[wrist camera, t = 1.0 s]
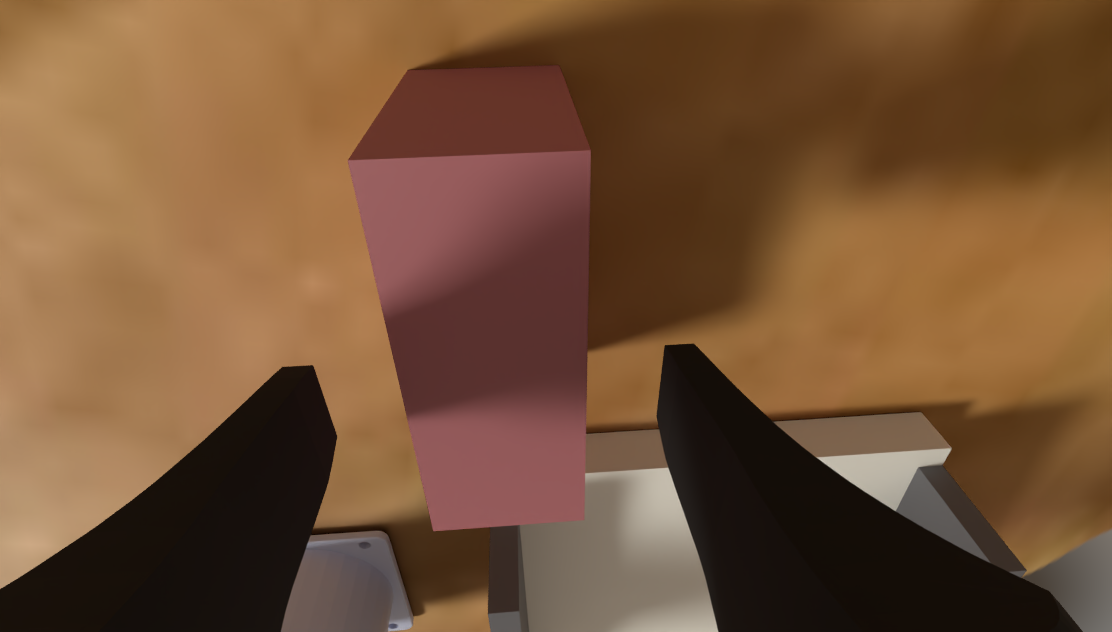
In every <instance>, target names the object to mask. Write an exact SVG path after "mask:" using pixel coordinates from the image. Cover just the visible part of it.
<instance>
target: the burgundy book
mask: <svg viewBox="0 0 1112 632" xmlns="http://www.w3.org/2000/svg"><path fill="white" fill-rule="evenodd" d="M348 164H349V168H350V173H351V177H352V181H353V185H354V190H355V194H356V198H357V203H358V207H359V211H360V216H361V220H362V224H363V229H364V233H365V237H366V242H367V246H368V250H369V255H370V259H371V263H372V268H373V272H374V276H375V281H376V285H377V289H378V294H379V298H380V302H381V307H382V311H383V315H384V320H385V324H386V328H387V333H388V337H389V341H390V346H391V350H392V354H393V359H394V363H395V367H396V372H397V376H398V380H399V385H400V389H401V393H402V398H403V402H404V406H405V411H406V415H407V419H408V424H409V428H410V432H411V437H412V441H413V445H414V450H415V454H416V458H417V463H418V467H419V471H420V476H421V480H422V484H423V489H424V493H425V497H426V502H427V506H428V510H429V515H430V519H431V523H432V528H433V531H444V530H457V529H471V528H485V527H498V526H512V525H526V524H539V523H553V522H567V521H580V520H584V511H585V455H586V399H587V343H588V287H589V231H590V175H591V149H590V147H589V144H588V141H587V139H586V136H585V133H584V130H583V128H582V125H581V122H580V120H579V117H578V114H577V112H576V109H575V106H574V103H573V101H572V98H571V95H570V93H569V90H568V87H567V85H566V82H565V79H564V77H563V74H562V71H561V68H560V66H559V65H547V66H517V67H487V68H457V69H428V70H407V72H406V73H405V75H404V76H403V78H402V79H401V81H400V82H399V84H398V86H397V87H396V89H395V90H394V92H393V93H392V95H391V96H390V98H389V99H388V101H387V102H386V104H385V105H384V107H383V108H382V110H381V111H380V113H379V114H378V116H377V117H376V119H375V120H374V122H373V123H372V125H371V126H370V128H369V129H368V131H367V132H366V134H365V135H364V137H363V138H362V140H361V141H360V143H359V144H358V146H357V147H356V149H355V150H354V152H353V153H352V155H351V156H350V158H349V159H348Z"/></svg>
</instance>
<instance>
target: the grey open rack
mask: <svg viewBox="0 0 1112 632" xmlns="http://www.w3.org/2000/svg"><path fill="white" fill-rule="evenodd" d="M774 423H775V424H776V425H777V426H778V427H780V428H781V429H782V430H783V431H784V432H786V433H787V434H788V435H789V436H790V437H791V438H793V439H794V440H795V441H796V442H797V443H799V444H800V445H801V446H802V447H804V448H805V449H806V450H807V451H809V452H810V453H811V454H813V455H814V456H815V457H816V458H818V459H819V460H821V461H822V462H823V463H825V464H826V465H827V466H829V467H830V468H832V469H833V470H834V471H836V472H837V473H838V474H840V475H841V476H842V477H844V478H845V479H847V480H848V481H850V482H851V483H853V484H854V485H856V486H857V487H859V488H860V489H862V490H863V491H865V492H866V493H868V494H869V495H871V496H872V497H874V498H876V499H877V500H879V501H880V502H882V503H883V504H885V505H887V506H888V507H890V508H891V509H893V510H895V511H896V512H898V513H899V514H901V515H903V516H904V517H906V518H908V519H910V520H911V521H913V522H915V523H916V524H918V525H920V526H922V527H923V528H925V529H927V530H929V531H930V532H932V533H934V534H936V535H938V536H940V537H941V538H943V539H945V540H947V541H949V542H951V543H952V544H954V545H956V546H958V547H960V548H962V549H963V550H965V551H967V552H969V553H971V554H973V555H975V556H977V557H979V558H981V559H983V560H985V561H987V562H989V563H992V564H994V565H996V566H998V567H1000V568H1002V569H1004V570H1006V571H1008V572H1010V573H1012V574H1014V575H1016V576H1018V577H1022V576H1023V575H1024V573H1025V572H1026V571H1027V570H1026V569H1025V568H1024V566H1023V565H1022V564H1021V563H1020V561H1019V560H1018V559H1017V558H1016V556H1015V555H1014V554H1013V553H1012V551H1011V550H1010V549H1009V548H1008V546H1007V545H1006V544H1005V543H1004V541H1003V540H1002V539H1001V538H1000V536H999V535H998V534H997V533H996V531H995V530H994V529H993V528H992V526H991V525H990V524H989V523H988V521H987V520H986V519H985V518H984V517H983V515H982V514H981V513H980V512H979V510H978V509H977V508H976V507H975V505H974V504H973V503H972V502H971V500H970V499H969V498H968V497H967V495H966V494H965V493H964V492H963V490H962V489H961V488H960V487H959V485H958V484H957V483H956V482H955V480H954V479H953V478H952V477H951V475H950V474H949V473H948V472H947V470H946V469H945V468H944V467H943V463H944V462H945V460H946V458H947V456H948V454H949V453H950V451H951V449H952V448H951V446H950V445H949V444H948V443H947V442H946V441H945V439H944V438H943V437H942V436H941V435H940V434H939V432H938V431H937V430H936V429H935V428H934V426H933V425H932V424H931V423H930V422H929V421H928V419H927V418H926V417H925V416H924V415H923V413H922V412H913V413H898V414H883V415H867V416H852V417H837V418H822V419H806V420H791V421H776V422H774ZM488 617H489V623H490V629H491V632H718V629H717V624H716V620H715V616H714V612H713V608H712V604H711V599H710V595H709V591H708V587H707V583H706V579H705V575H704V572H703V568H702V565H701V562H700V558H699V555H698V552H697V549H696V547H695V544H694V541H693V538H692V535H691V532H690V529H689V526H688V523H687V521H686V518H685V515H684V512H683V509H682V506H681V503H680V500H679V498H678V495H677V492H676V489H675V486H674V483H673V480H672V477H671V474H670V471H669V468H668V465H667V462H666V459H665V455H664V450H663V445H662V441H661V436H660V431H659V429H654V430H639V431H623V432H608V433H593V434H586V455H585V511H584V520H580V521H567V522H553V523H539V524H526V525H512V526H498V527H490V555H489V593H488Z"/></svg>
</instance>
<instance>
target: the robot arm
mask: <svg viewBox="0 0 1112 632" xmlns="http://www.w3.org/2000/svg"><path fill="white" fill-rule="evenodd" d="M657 421H658V426H659V431H660V436H661V441H662V445H663V450H664V455H665V459H666V462H667V465H668V468H669V471H670V474H671V477H672V480H673V483H674V486H675V489H676V492H677V495H678V498H679V500H680V503H681V506H682V509H683V512H684V515H685V518H686V521H687V523H688V526H689V529H690V532H691V535H692V538H693V541H694V544H695V547H696V549H697V552H698V555H699V558H700V562H701V565H702V568H703V572H704V575H705V579H706V583H707V587H708V591H709V595H710V599H711V604H712V608H713V612H714V616H715V620H716V624H717V629H718V632H1083V631H1082V630H1081V629H1080V628H1079V626H1078V625H1077V624H1076V623H1075V621H1074V620H1073V619H1072V618H1071V617H1070V615H1069V614H1068V613H1067V612H1066V610H1065V609H1064V608H1063V607H1062V606H1061V604H1060V603H1059V602H1058V601H1057V600H1056V599H1055V597H1054V596H1053V595H1052V594H1051V593H1050V592H1049V591H1048V590H1045V589H1043V588H1041V587H1039V586H1037V585H1035V584H1033V583H1031V582H1029V581H1026V580H1025V579H1023V578H1021V577H1018V576H1016V575H1014V574H1012V573H1010V572H1008V571H1006V570H1004V569H1002V568H1000V567H998V566H996V565H994V564H992V563H989V562H987V561H985V560H983V559H981V558H979V557H977V556H975V555H973V554H971V553H969V552H967V551H965V550H963V549H962V548H960V547H958V546H956V545H954V544H952V543H951V542H949V541H947V540H945V539H943V538H941V537H940V536H938V535H936V534H934V533H932V532H930V531H929V530H927V529H925V528H923V527H922V526H920V525H918V524H916V523H915V522H913V521H911V520H910V519H908V518H906V517H904V516H903V515H901V514H899V513H898V512H896V511H895V510H893V509H891V508H890V507H888V506H887V505H885V504H883V503H882V502H880V501H879V500H877V499H876V498H874V497H872V496H871V495H869V494H868V493H866V492H865V491H863V490H862V489H860V488H859V487H857V486H856V485H854V484H853V483H851V482H850V481H848V480H847V479H845V478H844V477H842V476H841V475H840V474H838V473H837V472H836V471H834V470H833V469H832V468H830V467H829V466H827V465H826V464H825V463H823V462H822V461H821V460H819V459H818V458H816V457H815V456H814V455H813V454H811V453H810V452H809V451H807V450H806V449H805V448H804V447H802V446H801V445H800V444H799V443H797V442H796V441H795V440H794V439H793V438H791V437H790V436H789V435H788V434H787V433H786V432H784V431H783V430H782V429H781V428H780V427H778V426H777V425H776V424H775V423H774V422H773V421H772V420H771V419H769V418H768V417H767V416H766V415H765V414H764V413H763V412H762V411H761V410H760V409H759V408H758V407H757V406H755V405H754V404H753V403H752V402H751V401H750V400H749V399H748V398H747V397H746V396H745V395H744V394H743V393H742V392H741V391H740V390H739V389H738V388H737V387H736V386H735V385H734V384H733V383H732V382H731V381H730V380H729V379H728V378H727V377H726V376H725V375H724V374H723V373H722V372H721V371H720V370H719V369H718V368H717V367H716V366H715V365H714V364H713V363H712V362H711V361H710V360H709V359H708V358H707V356H706V355H705V354H704V353H703V352H702V351H701V350H700V349H699V348H698V347H697V346H696V345H695V344H679V345H665V348H664V356H663V365H662V374H661V382H660V391H659V399H658V408H657ZM336 440H337V434H336V431H335V428H334V426H333V423H332V420H331V417H330V414H329V411H328V408H327V405H326V402H325V399H324V396H323V393H322V390H321V387H320V384H319V381H318V378H317V375H316V372H315V370H314V367H313V365H310V366H293V367H282V368H281V369H280V370H279V371H277V372H276V373H275V374H274V375H273V376H272V377H271V378H270V379H269V380H268V381H267V382H265V383H264V384H263V385H262V386H261V387H260V388H259V389H258V390H257V391H256V392H255V393H254V394H253V395H252V396H251V397H250V398H249V399H248V400H246V401H245V402H244V403H243V404H242V405H241V406H240V407H239V408H238V409H237V410H236V411H235V412H234V413H233V414H232V415H231V416H230V417H228V418H227V419H226V420H225V421H224V422H223V423H222V424H221V425H220V426H219V427H218V428H217V429H216V430H214V431H213V432H212V433H211V434H210V435H209V436H208V437H207V438H206V439H205V440H204V441H202V442H201V443H200V444H199V445H198V446H197V447H196V448H194V449H193V450H192V451H191V452H190V453H188V454H187V455H186V456H185V457H184V458H183V459H181V460H180V461H179V462H178V463H177V464H176V465H174V466H173V467H172V468H171V469H170V470H169V471H167V472H166V473H165V474H164V475H163V476H162V477H160V478H159V479H158V480H157V481H156V482H154V483H153V484H152V485H151V486H149V487H148V488H147V489H146V490H144V491H143V492H142V493H141V494H139V495H138V496H137V497H135V498H134V499H133V500H132V501H130V502H129V503H128V504H126V505H125V506H124V507H122V508H121V509H120V510H118V511H117V512H115V513H114V514H113V515H111V516H110V517H109V518H107V519H106V520H105V521H103V522H102V523H101V524H99V525H98V526H96V527H95V528H94V529H92V530H91V531H89V532H88V533H86V534H85V535H83V536H82V537H80V538H79V539H77V540H76V541H74V542H73V543H71V544H70V545H68V546H67V547H65V548H64V549H62V550H61V551H59V552H58V553H56V554H55V555H53V556H52V557H50V558H49V559H47V560H46V561H44V562H43V563H41V564H40V565H38V566H37V567H35V568H34V569H32V570H31V571H29V572H27V573H26V574H24V575H23V576H21V577H20V578H18V579H16V580H15V581H13V582H11V583H10V584H8V585H6V586H5V587H3V588H1V589H0V632H388V631H396V630H406V629H409V628H411V627H412V626H413V619H414V617H413V614H412V611H411V608H410V604H409V601H408V598H407V595H406V591H405V588H404V585H403V582H402V578H401V575H400V572H399V569H398V565H397V562H396V559H395V556H394V552H393V549H392V546H391V543H390V539H389V536H388V535H387V534H386V533H384V532H382V531H364V532H351V533H337V534H323V535H311V532H312V529H313V527H314V524H315V521H316V518H317V515H318V512H319V509H320V506H321V503H322V500H323V497H324V494H325V491H326V488H327V485H328V481H329V476H330V472H331V467H332V462H333V457H334V451H335V446H336Z"/></svg>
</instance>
